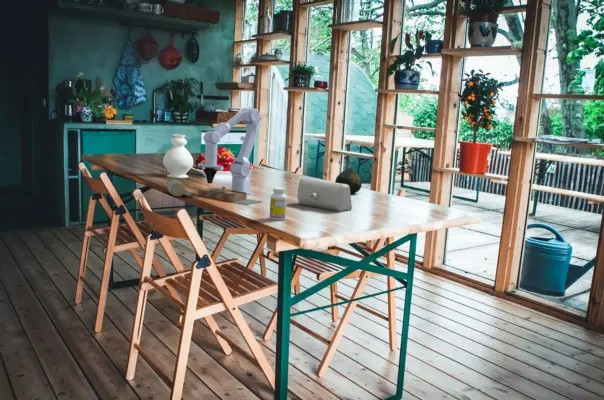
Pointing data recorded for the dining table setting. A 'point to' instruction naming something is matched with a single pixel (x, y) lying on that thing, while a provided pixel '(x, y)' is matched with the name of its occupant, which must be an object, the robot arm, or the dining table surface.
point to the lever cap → (222, 189)
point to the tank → (324, 195)
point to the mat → (247, 201)
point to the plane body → (223, 195)
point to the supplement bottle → (278, 204)
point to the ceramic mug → (177, 188)
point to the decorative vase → (178, 158)
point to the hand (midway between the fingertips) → (209, 183)
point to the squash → (350, 180)
